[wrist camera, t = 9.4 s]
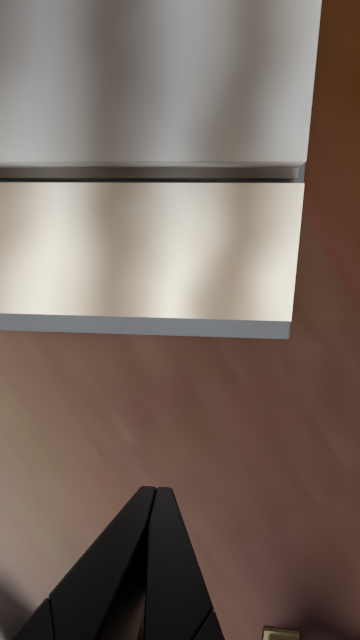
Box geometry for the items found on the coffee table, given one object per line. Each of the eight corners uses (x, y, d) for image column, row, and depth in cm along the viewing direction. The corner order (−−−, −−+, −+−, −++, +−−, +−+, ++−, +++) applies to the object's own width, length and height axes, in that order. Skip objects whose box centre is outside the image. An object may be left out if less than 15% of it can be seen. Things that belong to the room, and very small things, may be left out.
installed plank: (308, 18, 15) (323, -13, 13) (294, 180, 17) (305, 172, 15) (-39, 28, 16) (-68, 0, 14) (-21, 180, 18) (-45, 172, 16)
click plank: (293, 190, 17) (304, 183, 15) (282, 314, 18) (291, 321, 17) (-21, 189, 18) (-45, 182, 16) (-7, 307, 19) (-27, 312, 18)
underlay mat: (315, 15, 16) (320, 5, 15) (285, 336, 19) (288, 339, 19) (-41, 25, 17) (-49, 16, 16) (-5, 327, 20) (-11, 329, 20)
